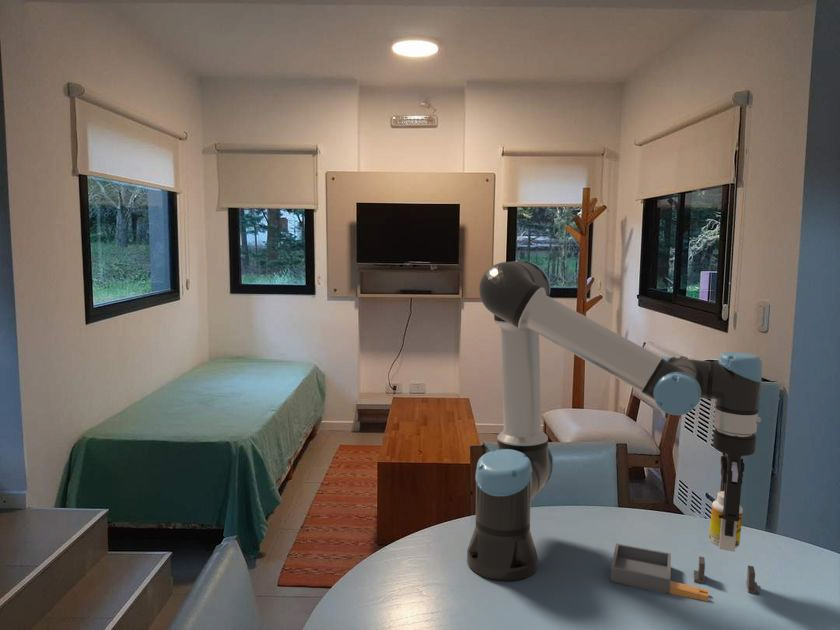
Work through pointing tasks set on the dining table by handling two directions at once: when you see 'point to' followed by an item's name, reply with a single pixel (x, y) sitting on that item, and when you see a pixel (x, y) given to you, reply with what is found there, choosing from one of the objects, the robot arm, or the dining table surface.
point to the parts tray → (641, 568)
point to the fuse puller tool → (688, 591)
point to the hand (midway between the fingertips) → (725, 542)
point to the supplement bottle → (716, 521)
